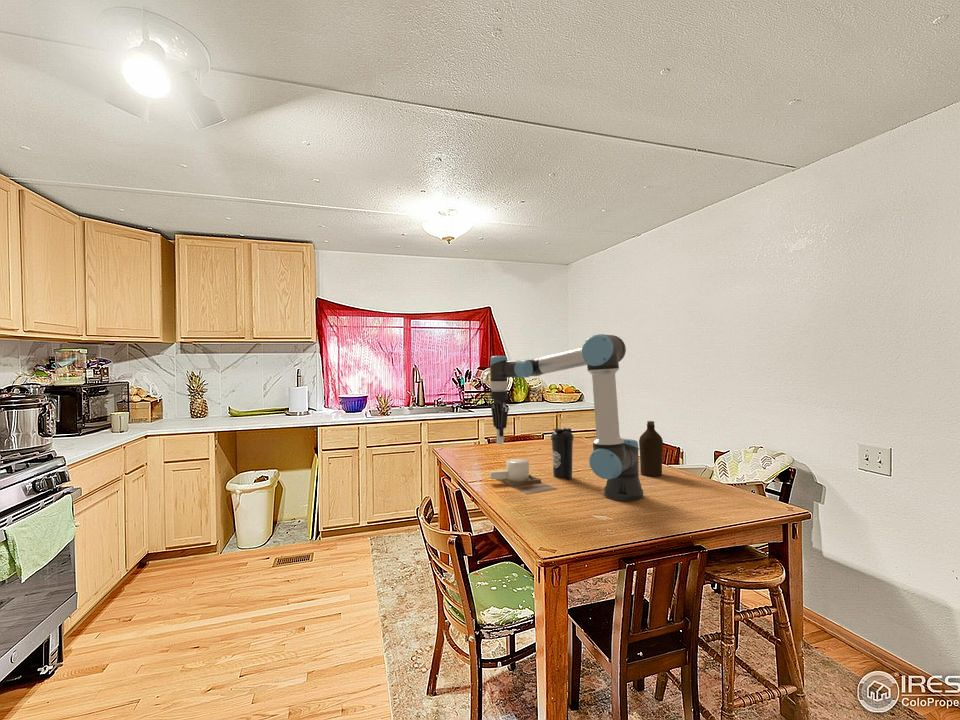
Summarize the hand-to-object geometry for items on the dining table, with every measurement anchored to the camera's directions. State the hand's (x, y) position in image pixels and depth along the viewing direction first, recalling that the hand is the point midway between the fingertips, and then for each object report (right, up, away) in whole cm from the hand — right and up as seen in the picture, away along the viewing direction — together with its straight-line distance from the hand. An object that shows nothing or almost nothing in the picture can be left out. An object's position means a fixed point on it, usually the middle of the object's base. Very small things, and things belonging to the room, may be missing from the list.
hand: (500, 443), depth 211 cm
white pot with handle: (+4, -17, -1) cm, 17 cm away
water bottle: (+29, -18, +8) cm, 35 cm away
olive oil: (+72, -17, +12) cm, 75 cm away
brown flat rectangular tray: (+11, -18, -4) cm, 21 cm away
